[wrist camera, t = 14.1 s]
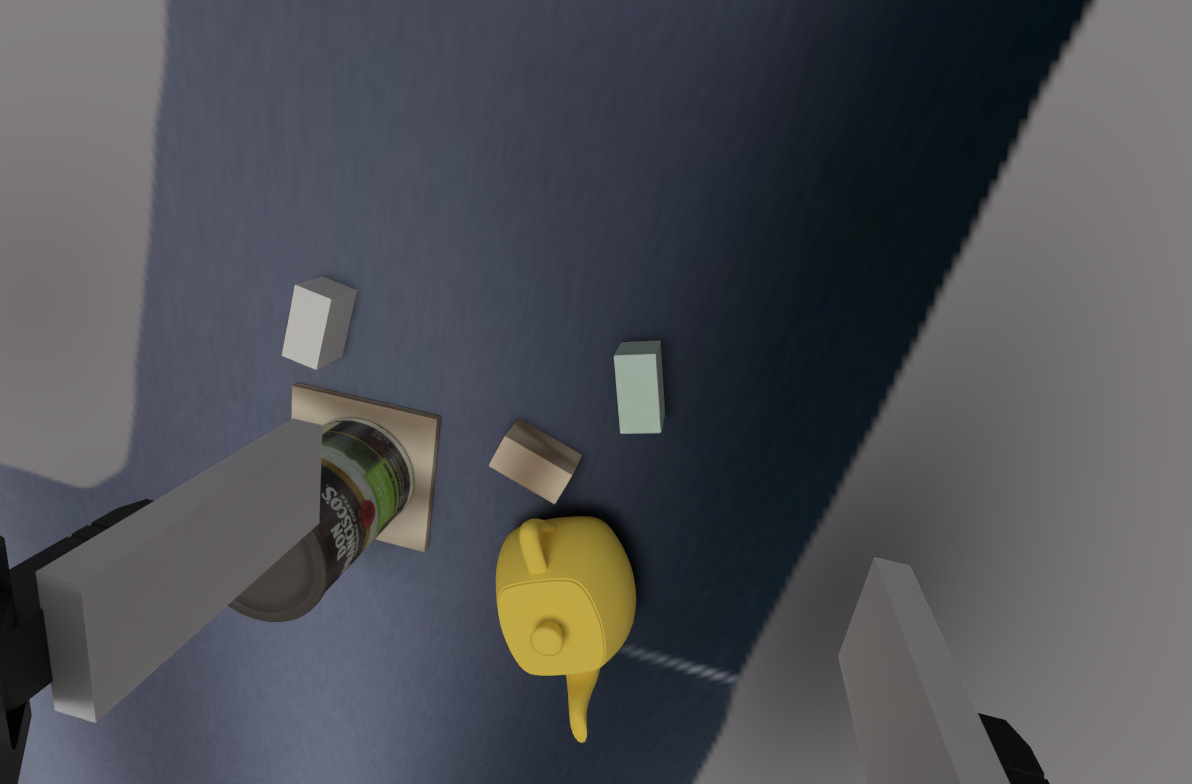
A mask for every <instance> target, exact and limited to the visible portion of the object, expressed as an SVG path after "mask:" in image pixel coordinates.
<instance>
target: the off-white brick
mask: <svg viewBox="0 0 1192 784" xmlns="http://www.w3.org/2000/svg"><path fill="white" fill-rule="evenodd" d="M356 293H357V290H355V289H353V288H351V287H348V286H346V285H343V284H341V283H338V282H336V281H333V280H331V279H328V278H326V277H320V278H317V279H313V280H310V281H306V282H303V283H299V284H296V285H295V288H294V293H293V299H292V304H291V309H290V315H289V320H288V325H287V331H286V336H285V341H284V346H283V352H282V356H284V357H286V358H289V359H291V360H294V361H296V362H298V363H301V364H303V365H306V366H308V367H311V368H313V369H316V370H317V369H319V368H321V367H323V366H325V365H327V364H329V363H331V362H333V361H335V360H337V359H339V358H340V357H342V356H343V351H344V347H345V342H346V338H347V333H348V329H349V324H350V320H351V316H352V311H353V307H354V302H355V298H356Z"/></svg>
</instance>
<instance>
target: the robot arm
mask: <svg viewBox="0 0 1192 784" xmlns="http://www.w3.org/2000/svg"><path fill="white" fill-rule="evenodd" d="M321 455H322V425H319V424H315V423H311V422H307V421H303V420H298V419H294V418H293V419H291V420H289V421H288V422H286V423H284V424H283V425H281V426H279V427H278V428H276V429H274V430H273V431H271V432H269V433H268V434H266V435H264V436H263V437H261V438H259V439H258V440H256V441H254V442H253V443H251V444H249V445H247V446H246V447H244V448H242V449H241V450H239V451H237V452H236V453H234V454H232V455H231V456H229V457H227V458H226V459H224V460H222V461H221V462H219V463H217V464H216V465H214V466H212V467H211V468H209V469H207V470H206V471H204V472H202V473H200V474H199V475H197V476H195V477H194V478H192V479H190V480H189V481H187V482H185V483H184V484H182V485H180V486H179V487H177V488H175V489H174V490H172V491H170V492H169V493H167V494H165V495H164V496H162V497H160V498H159V499H157V500H155V501H152V500H149V499H145V500H142V501H139V502H135V503H132V504H129V505H126V506H123V507H120V508H117V509H115V510H113V511H111V512H109V513H108V514H106V515H104V516H102V517H101V518H99V519H97V520H95V521H94V522H92V524H91V526H88V525H87V526H85V527H83V528H81V529H80V530H78V531H76V532H74V533H73V534H72V536H71V537H66V538H64V539H62V540H60V541H59V542H57V543H55V544H53V545H52V546H50V547H48V548H46V549H45V550H43V551H41V552H39V553H38V554H36V555H34V556H32V557H31V558H29V559H27V560H25V561H24V562H22V563H20V564H18V565H17V566H15V567H13V568H11V569H10V570H9V565H8V558H7V552H6V546H5V539H4V538H3V537H2V536H0V784H18V779H19V774H20V769H21V765H22V760H23V755H24V750H25V745H26V740H27V735H28V730H29V726H30V721H31V716H32V715H31V708H30V701H29V699H30V698H32V697H33V696H34V695H35V694H37V693H38V692H39V691H41V690H42V689H43V688H44V687H46V686H47V685H48V684H50V683H51V687H52V694H53V702H54V709H55V711H58V712H61V713H65V714H68V715H71V716H75V717H78V718H81V719H85V720H88V721H91V722H94V723H96V722H97V721H99V720H100V719H101V718H102V717H103V716H104V715H105V714H106V713H108V712H109V711H110V710H111V709H112V708H113V707H114V706H115V705H116V704H118V703H119V702H120V701H121V700H122V699H123V698H124V697H125V696H127V695H128V694H129V693H130V692H131V691H132V690H133V689H134V688H135V687H137V686H138V685H139V684H140V683H141V682H142V681H143V680H144V679H146V678H147V677H148V676H149V675H150V674H151V673H152V672H153V671H155V670H156V669H157V668H158V667H159V666H160V665H161V664H162V663H163V662H165V661H166V660H167V659H168V658H169V657H170V656H171V655H172V654H174V653H175V652H176V651H177V650H178V649H179V648H180V647H181V646H182V645H184V644H185V643H186V642H187V641H188V640H189V639H190V638H191V637H193V636H194V635H195V634H196V633H197V632H198V631H199V630H200V629H202V628H203V627H204V626H205V625H206V624H207V623H208V622H209V621H210V620H212V619H213V618H214V617H215V616H216V615H217V614H218V613H219V612H221V611H222V610H223V609H224V608H225V607H226V606H227V605H228V604H229V603H231V602H232V601H233V600H234V599H235V598H236V597H237V596H238V595H240V594H241V593H242V592H243V591H244V590H245V589H246V588H247V587H249V586H250V585H251V584H252V583H253V582H254V581H255V580H256V579H257V578H259V577H260V576H261V575H262V574H263V573H264V572H265V571H266V570H268V569H269V568H270V567H271V566H272V565H273V564H274V563H275V562H277V561H278V560H279V559H280V558H281V557H282V556H283V555H284V554H285V553H287V552H288V551H289V550H290V549H291V548H292V547H293V546H294V545H296V544H297V543H298V542H299V541H300V540H301V539H302V538H303V537H304V536H306V535H307V534H308V533H309V532H310V531H311V530H312V529H313V528H315V527H316V526H317V525H318V524H319V517H320V486H321ZM838 657H839V662H840V666H841V670H842V675H843V679H844V683H845V688H846V692H847V696H848V701H849V705H850V709H851V714H852V718H853V722H854V727H855V731H856V735H857V739H858V744H859V748H860V753H861V757H862V761H863V766H864V770H865V775H866V779H867V783H868V784H1049V782H1048V780H1046V779H1044V772H1043V770H1042V769H1041V767H1040V765H1039V763H1038V761H1037V759H1036V757H1035V756H1034V753H1033V751H1032V749H1031V747H1030V746H1029V745H1028V744H1027V743H1026V742H1025V741H1024V740H1023V739H1022V738H1021V736H1020V735H1019V734H1018V733H1017V732H1016V731H1015V730H1014V729H1013V728H1012V727H1011V725H1009V723H1008V722H1007V721H1006V720H1003V719H999V718H995V717H992V716H987V715H984V714H980V713H977V711H976V709H975V706H974V704H973V702H972V700H971V698H970V696H969V693H968V691H967V689H966V687H965V685H964V682H963V680H962V678H961V676H960V674H959V672H958V669H957V667H956V665H955V663H954V661H953V658H952V656H951V654H950V652H949V650H948V648H947V645H946V643H945V641H944V639H943V637H942V634H941V632H940V630H939V628H938V626H937V624H936V621H935V619H934V617H933V615H932V613H931V610H930V608H929V606H928V604H927V602H926V600H925V598H924V595H923V593H922V591H921V589H920V587H919V584H918V582H917V580H916V578H915V576H914V574H913V571H912V569H911V567H910V566H909V565H905V564H901V563H896V562H892V561H888V560H884V559H880V558H874V560H873V563H872V566H871V568H870V571H869V574H868V576H867V579H866V582H865V585H864V587H863V590H862V593H861V595H860V598H859V601H858V604H857V607H856V609H855V612H854V615H853V617H852V620H851V623H850V626H849V628H848V631H847V634H846V637H845V639H844V642H843V645H842V647H841V650H840V653H839V656H838Z"/></svg>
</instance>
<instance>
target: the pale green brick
mask: <svg viewBox="0 0 1192 784" xmlns="http://www.w3.org/2000/svg"><path fill="white" fill-rule="evenodd" d="M614 364H615V375H616V387H617V399H618V411H619V423H620V434H628V433H661V430H662V426H663V421H664V417H665V405H664V389H663V373H662V358H661V342H660V340H659V341H637V342H621V344H620V346H619V347H618V349H617V351H616V353H615V354H614Z"/></svg>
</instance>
